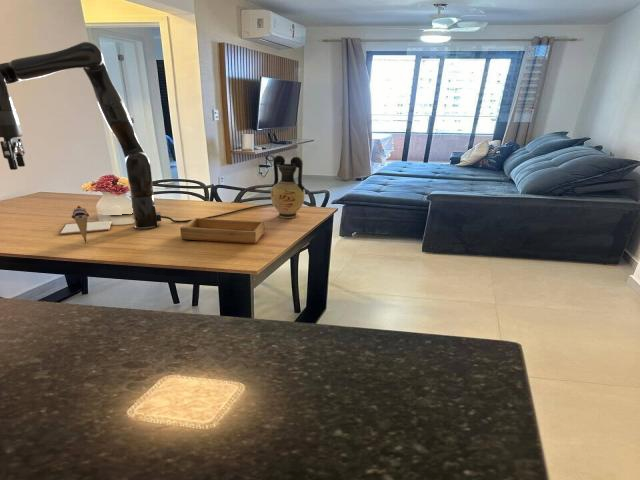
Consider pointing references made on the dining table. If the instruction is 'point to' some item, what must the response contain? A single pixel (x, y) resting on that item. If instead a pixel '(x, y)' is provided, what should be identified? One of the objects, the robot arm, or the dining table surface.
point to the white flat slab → (91, 227)
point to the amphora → (287, 187)
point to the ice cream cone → (81, 220)
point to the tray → (223, 230)
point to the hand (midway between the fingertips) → (18, 167)
